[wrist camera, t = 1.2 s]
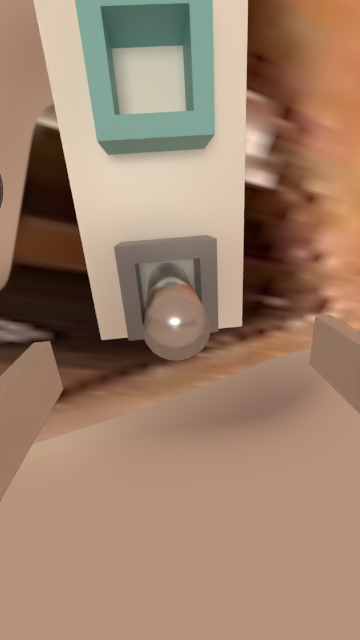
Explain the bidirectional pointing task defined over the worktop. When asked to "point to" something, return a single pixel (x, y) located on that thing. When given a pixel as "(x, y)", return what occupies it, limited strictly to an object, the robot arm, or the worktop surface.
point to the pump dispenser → (1, 191)
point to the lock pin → (174, 314)
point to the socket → (149, 31)
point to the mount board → (154, 172)
